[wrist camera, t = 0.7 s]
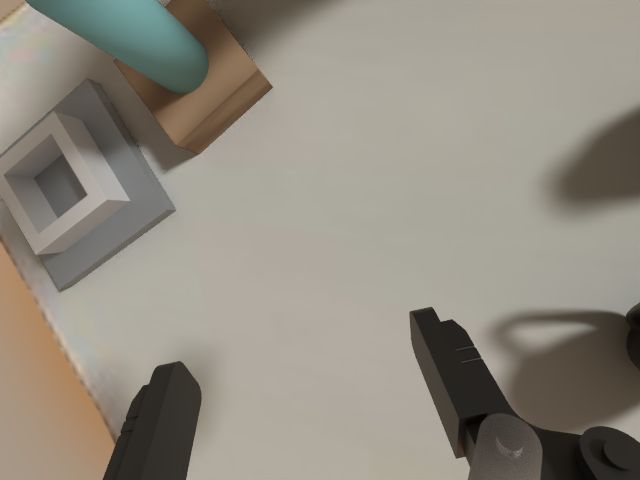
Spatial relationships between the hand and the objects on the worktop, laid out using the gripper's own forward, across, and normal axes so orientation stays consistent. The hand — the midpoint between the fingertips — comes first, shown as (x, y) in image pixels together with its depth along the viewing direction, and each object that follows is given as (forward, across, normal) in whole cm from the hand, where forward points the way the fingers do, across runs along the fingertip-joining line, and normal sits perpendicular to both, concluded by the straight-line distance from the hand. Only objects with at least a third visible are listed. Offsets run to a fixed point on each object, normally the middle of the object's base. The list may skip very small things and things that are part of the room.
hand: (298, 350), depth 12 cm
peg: (+27, +7, -7) cm, 29 cm away
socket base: (+29, +23, +2) cm, 37 cm away
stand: (+30, +7, -5) cm, 31 cm away
